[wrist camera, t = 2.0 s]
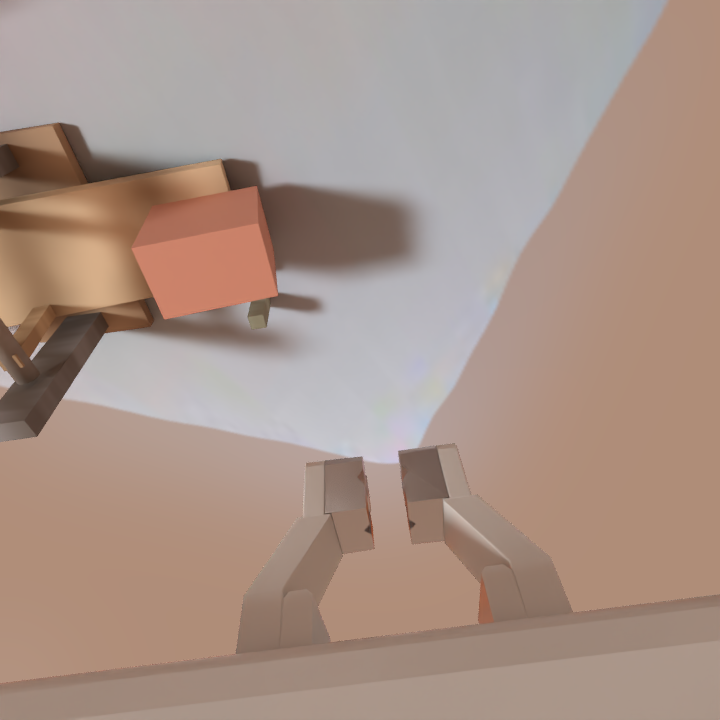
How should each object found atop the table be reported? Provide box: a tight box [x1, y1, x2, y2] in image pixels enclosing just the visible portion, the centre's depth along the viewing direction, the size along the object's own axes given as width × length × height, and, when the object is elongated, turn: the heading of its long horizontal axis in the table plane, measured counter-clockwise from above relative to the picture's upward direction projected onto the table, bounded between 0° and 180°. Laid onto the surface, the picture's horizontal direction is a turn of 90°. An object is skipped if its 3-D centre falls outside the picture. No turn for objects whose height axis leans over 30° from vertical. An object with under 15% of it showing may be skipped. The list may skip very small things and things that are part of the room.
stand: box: [0, 123, 271, 442], centre depth 25 cm, size 16×13×11 cm
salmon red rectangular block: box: [131, 186, 278, 319], centre depth 26 cm, size 6×4×6 cm, turn 98°
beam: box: [0, 159, 231, 385], centre depth 25 cm, size 26×9×7 cm, turn 98°
